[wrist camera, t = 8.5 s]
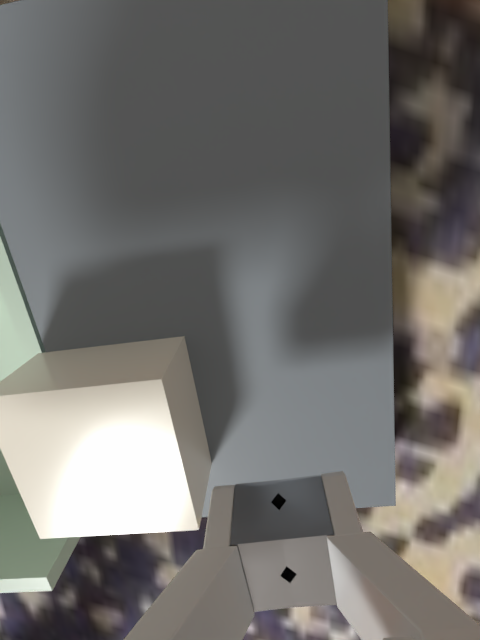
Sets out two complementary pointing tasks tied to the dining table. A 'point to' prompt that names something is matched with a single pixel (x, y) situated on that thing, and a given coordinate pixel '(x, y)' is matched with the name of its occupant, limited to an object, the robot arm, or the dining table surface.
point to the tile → (107, 439)
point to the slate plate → (216, 212)
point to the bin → (3, 495)
